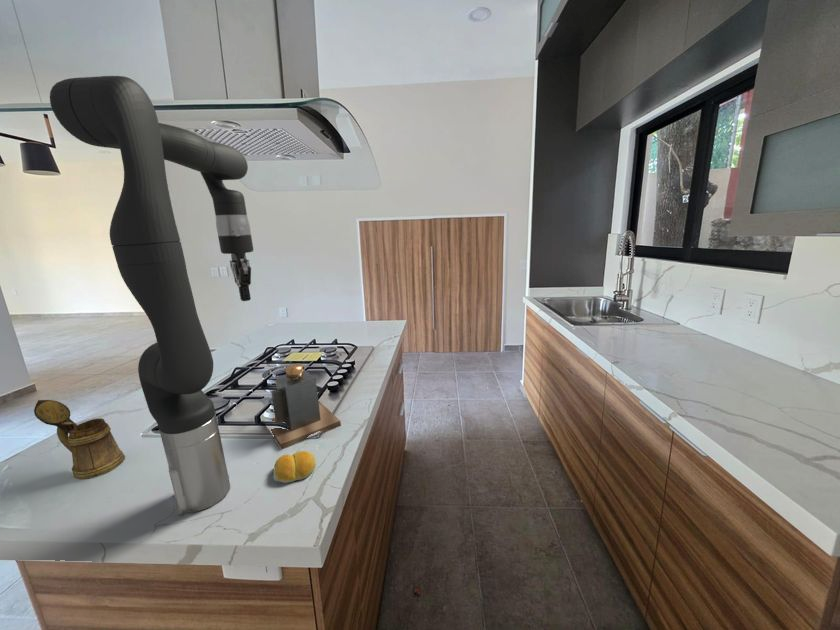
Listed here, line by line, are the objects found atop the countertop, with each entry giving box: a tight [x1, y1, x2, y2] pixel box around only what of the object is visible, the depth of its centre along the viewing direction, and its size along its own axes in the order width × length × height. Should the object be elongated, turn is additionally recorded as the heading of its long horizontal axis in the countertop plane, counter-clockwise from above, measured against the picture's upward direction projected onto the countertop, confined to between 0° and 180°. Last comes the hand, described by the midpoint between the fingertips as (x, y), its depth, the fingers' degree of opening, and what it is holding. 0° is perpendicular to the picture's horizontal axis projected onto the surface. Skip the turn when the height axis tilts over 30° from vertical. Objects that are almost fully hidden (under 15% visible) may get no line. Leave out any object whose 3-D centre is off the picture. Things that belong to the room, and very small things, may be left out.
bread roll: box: [273, 450, 317, 484], centre depth 77 cm, size 8×9×4 cm
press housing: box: [270, 368, 321, 431], centre depth 93 cm, size 10×8×13 cm
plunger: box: [284, 363, 304, 380], centre depth 93 cm, size 6×6×14 cm
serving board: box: [271, 400, 342, 450], centre depth 96 cm, size 16×16×2 cm
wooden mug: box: [33, 399, 126, 480], centre depth 79 cm, size 9×14×18 cm, turn 93°
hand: (245, 300), depth 91 cm, fingers closed
